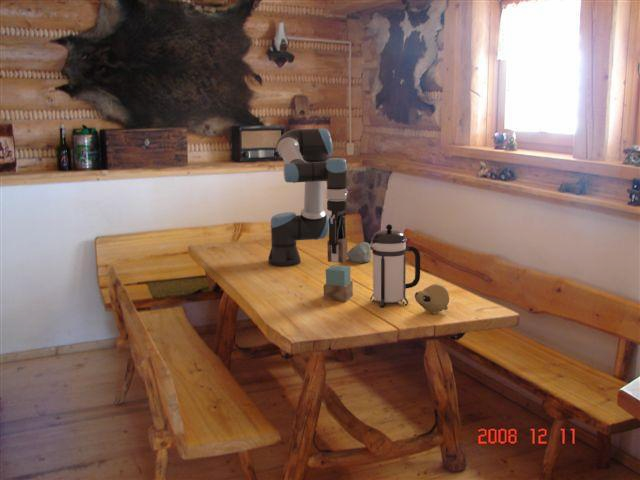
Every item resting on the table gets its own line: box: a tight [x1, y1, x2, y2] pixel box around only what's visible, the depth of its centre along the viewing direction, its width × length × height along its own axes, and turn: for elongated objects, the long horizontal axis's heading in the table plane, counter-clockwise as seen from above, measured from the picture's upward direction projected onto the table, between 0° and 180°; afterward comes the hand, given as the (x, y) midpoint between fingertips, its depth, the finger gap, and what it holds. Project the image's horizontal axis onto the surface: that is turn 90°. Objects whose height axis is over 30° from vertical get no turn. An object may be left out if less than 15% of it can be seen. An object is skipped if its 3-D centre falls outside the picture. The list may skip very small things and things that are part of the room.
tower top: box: [325, 264, 352, 286], centre depth 266 cm, size 8×8×6 cm
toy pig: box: [414, 283, 450, 316], centre depth 246 cm, size 10×12×11 cm
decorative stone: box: [347, 241, 372, 264], centre depth 324 cm, size 13×11×10 cm
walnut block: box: [326, 238, 349, 263], centre depth 263 cm, size 6×6×8 cm
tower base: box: [323, 280, 354, 303], centre depth 267 cm, size 9×9×6 cm
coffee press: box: [369, 223, 421, 309], centre depth 258 cm, size 17×16×30 cm
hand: (337, 259), depth 264 cm, fingers closed on walnut block, 6 cm apart
